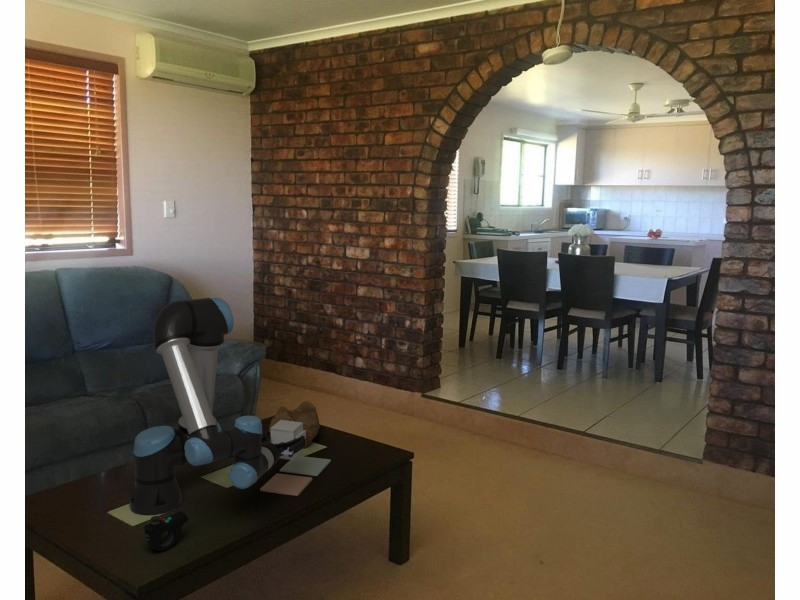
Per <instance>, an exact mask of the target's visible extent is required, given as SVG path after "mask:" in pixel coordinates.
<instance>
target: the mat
mask: <svg viewBox="0 0 800 600" xmlns="http://www.w3.org/2000/svg"><path fill="white" fill-rule="evenodd" d="M331 461H332V460H331V459H330V458H329V459H328V458H321V457H320V458H319V457H313V456H311V457H310V456H303V455H298V456H297V457H296V458H295V459H294V460H288V461H287V462H286V463H285V464H284V465H283V466H282V467H281V468H280V469H279V472H283V473H291V474H299V475H307V476H312V477H313V476H315V477H318V475H320V473H322V471H323V470H325V468H326V467H327V466H328V465H329V464H330V463H331Z"/></svg>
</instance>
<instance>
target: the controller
mask: <svg viewBox="0 0 800 600" xmlns="http://www.w3.org/2000/svg"><path fill="white" fill-rule="evenodd" d="M150 521H151V522H150V523H148V524H146V525H144V526H143V529H144V537H145V538H144V540H145V541H146V543H147V545H148V546H149V547H150V548H151V549H152V550H154V551H157V552H164V551H167V550H169V549H171V548H172V547H173V546H174V545H176V543H177V542H178V540H179V538H180V536H181V532H182V527H183V526H184V525H185V524H186V523H188V521H189V517H188V514H186V513H185V512H182V511H178V512H175V513H173V514H171V515H168V516H166V517H163V518H161V519H160V516H159V515H153V516H151V517H150ZM165 533H167V536H166V538H165V540H164V541H163V542H162V543H161V539H162V537H163V535H164V534H165Z"/></svg>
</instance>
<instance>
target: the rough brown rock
mask: <svg viewBox="0 0 800 600" xmlns="http://www.w3.org/2000/svg"><path fill="white" fill-rule="evenodd" d="M280 420H286V421H294V422H302V423H303V430H306V438H305V440H306V443H305V448H304V449H306V448H307V447H309V446H310V445H311V443H312V442H313V440H314V439H315V438H316V437H317V435H318V434H319V431H320V430H319V429H320V426H321V425H320V419H319V415H318V413H317V407H316V406H315V405H314V404H313V403H312V402H309V401H307V400H306V401H302V402H301V403H300V404H299V405H298V406H297V407H296V408H295V409H288V408H286V407H285V406H279V408H277V412H276V414H275V415H274V416H273V418H272V419H271V420H270V423H269V427H268V432H271V427H272V426H273V425H275V424H276V423H277V422H279V421H280Z"/></svg>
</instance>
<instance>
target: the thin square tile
mask: <svg viewBox="0 0 800 600" xmlns="http://www.w3.org/2000/svg"><path fill="white" fill-rule="evenodd" d="M312 481H313V476H312V477H311V476H302V475H296V474H295V475H293V474H287V473H275V474H274V475H273V476H272V477H271V478H270V479H269V480H268V481H266V483H265V484H264V485H262V486H261V487H260V489H259V490H260V492H265V493H272V494H274V493H275V494H279V495H289V496H295V497H296V496H299V495H301V493H302V492H303V491H304V489H306V487H308V485H309V484H310V483H311V482H312Z"/></svg>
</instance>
